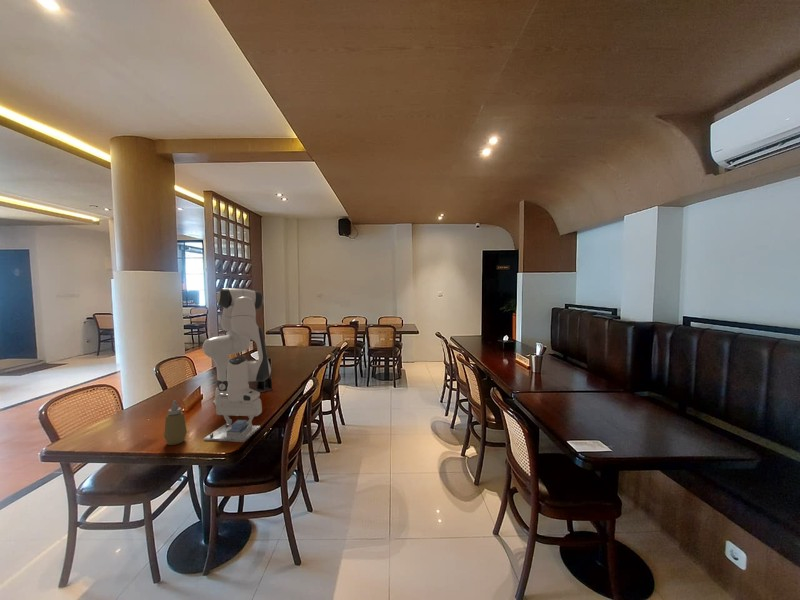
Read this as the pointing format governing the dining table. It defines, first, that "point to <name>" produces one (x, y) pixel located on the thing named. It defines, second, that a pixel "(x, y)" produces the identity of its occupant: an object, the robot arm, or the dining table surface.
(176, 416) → the squeeze bottle
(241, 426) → the servo
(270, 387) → the letter holder
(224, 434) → the chassis
